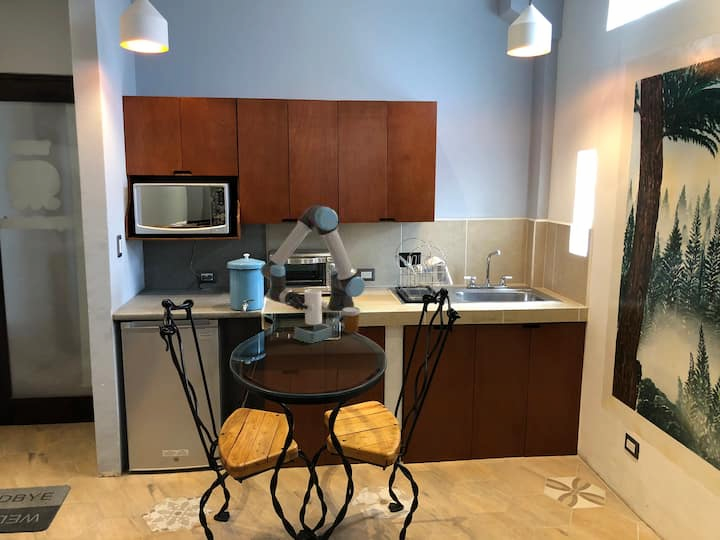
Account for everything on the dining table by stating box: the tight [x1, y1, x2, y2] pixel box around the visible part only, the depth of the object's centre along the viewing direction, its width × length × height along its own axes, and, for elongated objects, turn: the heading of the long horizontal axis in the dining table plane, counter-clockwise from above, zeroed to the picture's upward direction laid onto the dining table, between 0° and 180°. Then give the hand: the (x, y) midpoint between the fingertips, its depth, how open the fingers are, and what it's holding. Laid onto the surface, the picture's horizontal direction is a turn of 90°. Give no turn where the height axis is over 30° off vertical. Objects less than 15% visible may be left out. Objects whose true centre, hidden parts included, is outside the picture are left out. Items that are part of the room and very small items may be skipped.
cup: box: [304, 288, 323, 326], centre depth 277 cm, size 8×8×16 cm
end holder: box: [292, 322, 337, 344], centre depth 280 cm, size 16×14×5 cm
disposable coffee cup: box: [341, 306, 361, 335], centre depth 286 cm, size 10×10×12 cm
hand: (319, 306), depth 274 cm, fingers closed on cup, 8 cm apart
